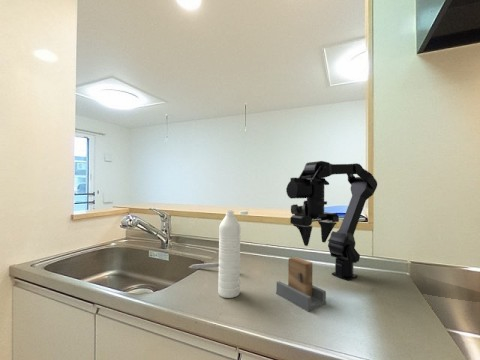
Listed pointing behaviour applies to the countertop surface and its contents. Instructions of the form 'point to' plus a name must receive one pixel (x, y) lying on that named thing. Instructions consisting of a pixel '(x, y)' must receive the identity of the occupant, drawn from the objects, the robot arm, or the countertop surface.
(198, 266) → the caliper
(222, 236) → the water bottle
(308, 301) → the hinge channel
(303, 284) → the door slab
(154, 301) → the countertop surface
